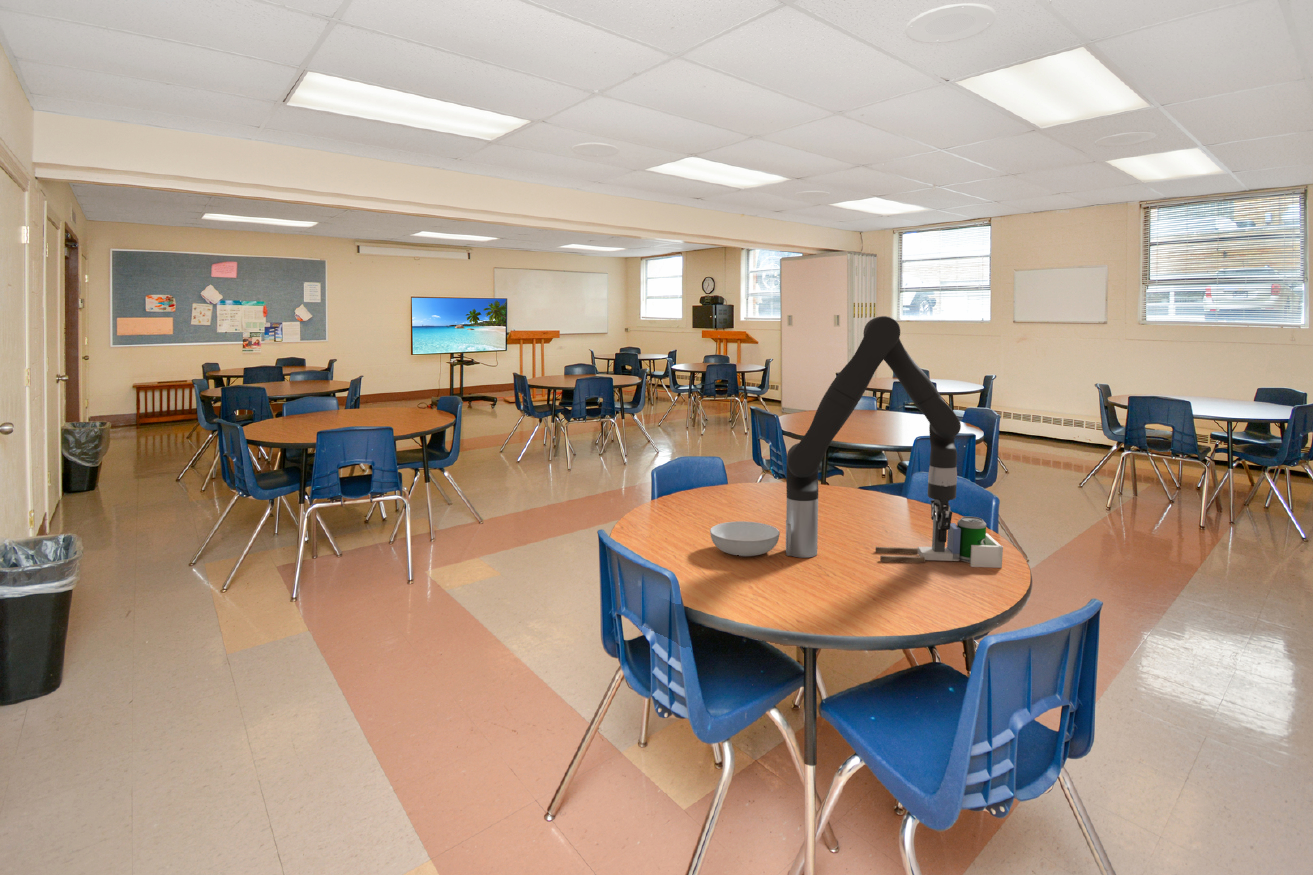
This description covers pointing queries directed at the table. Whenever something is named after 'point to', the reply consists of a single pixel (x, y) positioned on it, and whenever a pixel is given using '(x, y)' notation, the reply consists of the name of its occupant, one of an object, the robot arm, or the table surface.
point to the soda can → (970, 535)
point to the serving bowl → (744, 537)
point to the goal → (987, 554)
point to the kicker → (943, 545)
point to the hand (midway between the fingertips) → (939, 539)
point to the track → (899, 558)
